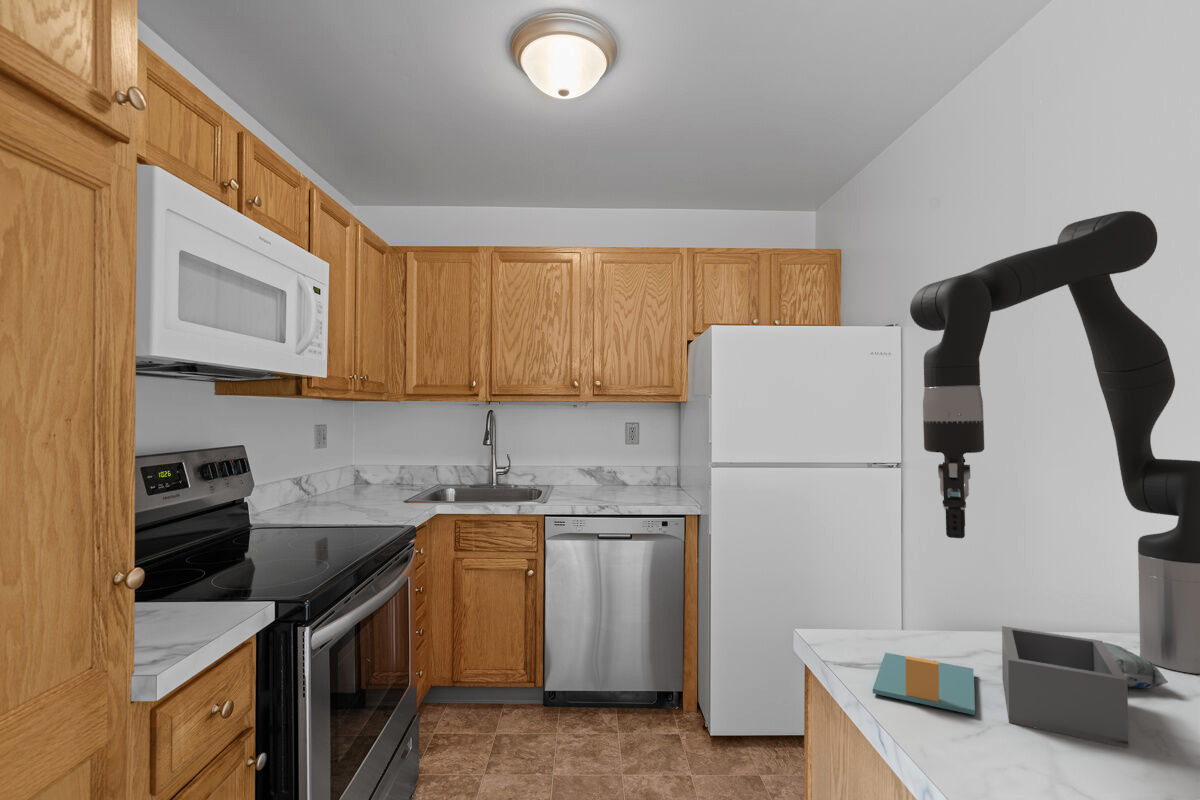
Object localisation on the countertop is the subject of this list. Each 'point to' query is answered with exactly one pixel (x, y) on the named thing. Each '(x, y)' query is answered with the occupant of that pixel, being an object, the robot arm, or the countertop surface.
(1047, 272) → the robot arm
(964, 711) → the lid
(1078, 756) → the countertop surface
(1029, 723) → the tub
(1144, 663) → the packaged food
